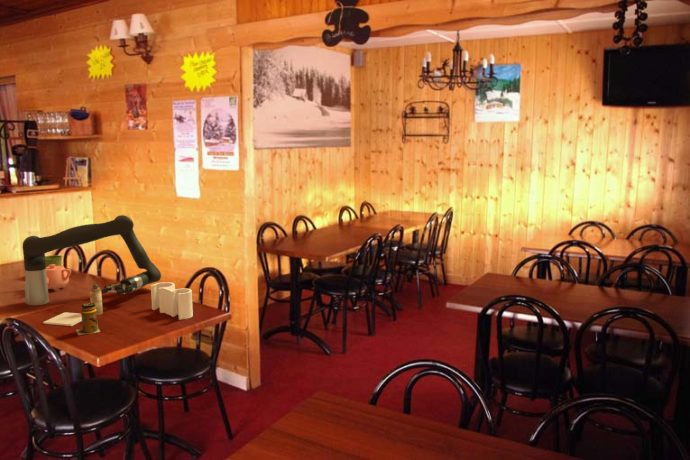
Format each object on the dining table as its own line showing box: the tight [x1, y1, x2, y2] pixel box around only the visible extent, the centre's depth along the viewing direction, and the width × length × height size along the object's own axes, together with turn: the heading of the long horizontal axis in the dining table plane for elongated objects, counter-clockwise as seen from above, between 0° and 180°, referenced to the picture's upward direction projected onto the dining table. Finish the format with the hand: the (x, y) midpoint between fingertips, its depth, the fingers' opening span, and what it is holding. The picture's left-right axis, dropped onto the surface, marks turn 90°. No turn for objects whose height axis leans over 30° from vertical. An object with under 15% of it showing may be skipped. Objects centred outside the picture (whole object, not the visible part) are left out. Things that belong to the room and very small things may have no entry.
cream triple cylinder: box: [150, 281, 194, 321], centre depth 267 cm, size 25×10×12 cm, turn 48°
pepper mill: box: [89, 283, 104, 316], centre depth 264 cm, size 5×5×14 cm
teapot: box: [46, 264, 72, 292], centre depth 305 cm, size 16×17×14 cm
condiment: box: [75, 302, 101, 336], centre depth 241 cm, size 7×8×12 cm
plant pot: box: [45, 254, 63, 267], centre depth 332 cm, size 12×12×11 cm
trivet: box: [42, 311, 82, 327], centre depth 256 cm, size 14×14×1 cm
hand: (109, 292), depth 273 cm, fingers open, 8 cm apart
